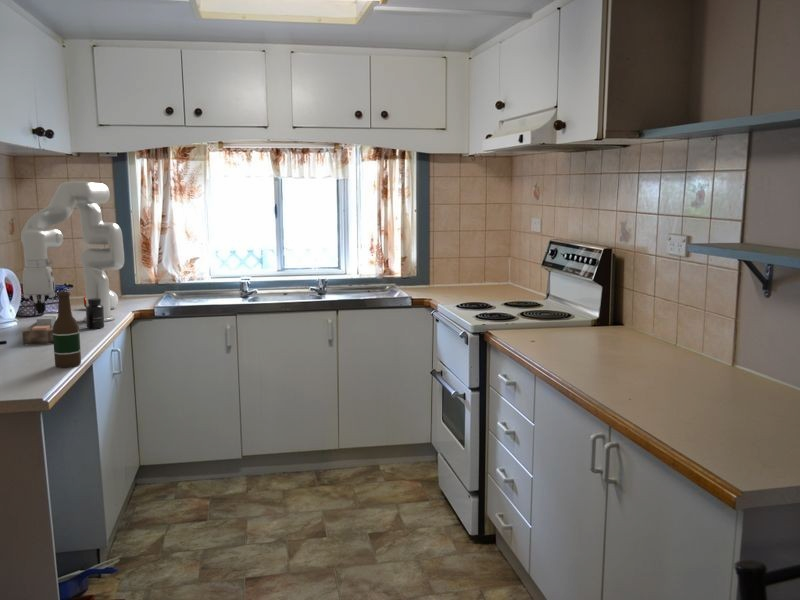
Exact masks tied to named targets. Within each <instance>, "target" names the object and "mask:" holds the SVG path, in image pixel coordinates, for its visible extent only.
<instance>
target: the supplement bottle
mask: <svg viewBox="0 0 800 600" xmlns="http://www.w3.org/2000/svg"><path fill="white" fill-rule="evenodd" d="M100 303H101V299H99V298H93V299H88V304H89V305H88V306H87V307H85V317H86V321H85V323H86V328H87V329H88V328H89V330H98V329H99V330H100V329H103V328H105V321H104V307H103V306H102V305H100Z"/></svg>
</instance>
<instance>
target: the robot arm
mask: <svg viewBox="0 0 800 600" xmlns="http://www.w3.org/2000/svg"><path fill="white" fill-rule="evenodd" d="M110 193H111V192H110V189H109V187H108V186H107V185H106V184H104V183H102V182H91V181H65V182H64V181H63V182H62V183H60V184H59V186H58V187H57V189H56V190H55V192H54V194H53V196H52V198H51V200H50V202H49V203H48V206H46V207H44V208H42V209H40V210H39V211H38V212H36V213H34V214H32V216H31V217H29V218H28V219H27V221H26V223H25V224H24V226H23V228H22V231H21V233H20V242H21V243H22V246H23V253H24V254H23V256H24V266H25V267H24V268H23V271H22V292H23V298H24V299H28V300H30V301H32V302H33V303H34V304H35V311H36V312H37V315H39V314H43V315H44V314H45V312H46V310H47V309H46V308H47V306H46V301H48V300H49V299H50V298H54V297H56V285H55V278H54V274H53V269H52V267H51V266H50V265H53V260H49V258H48V249H56V248H59V247H60V246H61V245H62V244H63V243H64V234H63V233H62V231H61V230H59V229H58V228H54V227H50V226H53V225H56V224H60V223H62V222H65V221H68V220H69V218H70V217H71V215H72V214H73V211H74V210H75V208H77V210H78V212H79V219H80V225H81V227H80V228H81V234H82V235H81V236H82V239H83V242H84V243H85V244H87V245H93V246H94V245H95V247H87V248H85V249H84V250H83V251H82V252H81V255H80V260H81V265H82V269H83V276H84V285H85V286H84V287H85V289H84V290H85V297H86V305H87V306H88V305H89V304H88V299H93V298H99V299H101V303H100V305H102V306H103V307H104V322H109V321H112V320H115V319H116V318H115V317H116V316H115V315H113V314H111V311H112V310H111V309H110V293H109V290H110V279H109V277H108V275H107V274H106V272H105V271H110V270H111V271H112V270H113V271H116V270H121V269H122V268H124V265H125V250H124V248H125V247H124V238H123V232H122V229H121V226H119V224H117V223H115V222H104V221H103V216H102V215H103V214H102V210H101V207H100V206H99V205H104V204H106V203H107V202H108V201H109V200H110V198H111V197H110V196H111V194H110ZM99 245H101V246H105V245H107V246H108V247H97V246H99ZM39 296H40V298H39ZM83 322H86V316H84V317H83Z"/></svg>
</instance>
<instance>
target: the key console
mask: <svg viewBox="0 0 800 600" xmlns="http://www.w3.org/2000/svg"><path fill="white" fill-rule="evenodd" d="M35 326H37V321H36V322H34V323H32V324H31V325H30V326H28V327H26V328H25V329H24V330H22V331H21V332H22V345H23V346H24V345H25V344H28V345H44V344H45V345H47V344H46V343H53V344H54V342H53V327H50V329H49V330H37V331H32V328H33V327H35Z"/></svg>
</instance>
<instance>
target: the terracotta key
mask: <svg viewBox="0 0 800 600" xmlns="http://www.w3.org/2000/svg"><path fill="white" fill-rule="evenodd" d="M49 329H50V325H47V326H35V327H33V328H32V331H37V330H49Z"/></svg>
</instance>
